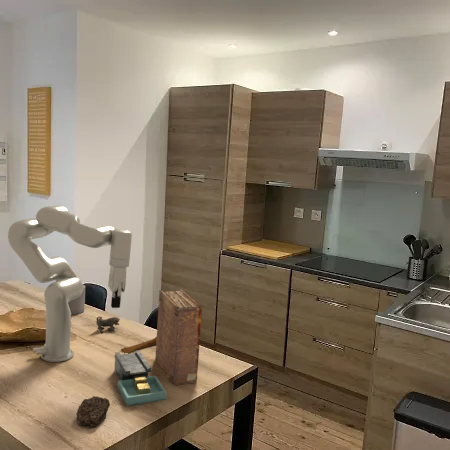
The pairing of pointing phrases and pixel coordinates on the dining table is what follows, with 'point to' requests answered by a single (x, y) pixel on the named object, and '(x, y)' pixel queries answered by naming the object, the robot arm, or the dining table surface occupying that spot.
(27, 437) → the dining table surface
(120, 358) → the grey block holder
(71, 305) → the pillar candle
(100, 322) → the dog figurine
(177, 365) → the book
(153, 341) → the primitive tool
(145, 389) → the tan wooden cube
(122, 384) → the tray
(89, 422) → the dark brown rock
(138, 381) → the tan wooden block
